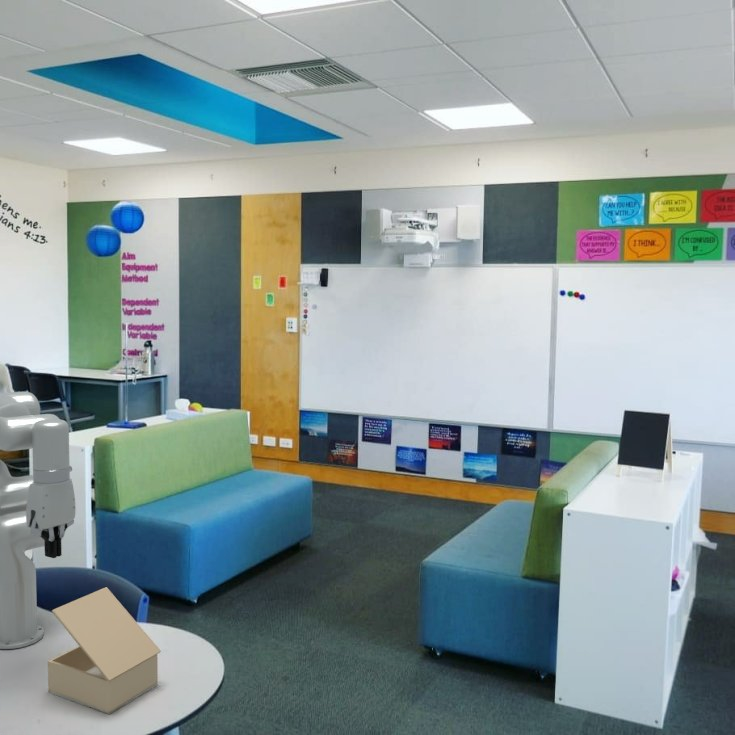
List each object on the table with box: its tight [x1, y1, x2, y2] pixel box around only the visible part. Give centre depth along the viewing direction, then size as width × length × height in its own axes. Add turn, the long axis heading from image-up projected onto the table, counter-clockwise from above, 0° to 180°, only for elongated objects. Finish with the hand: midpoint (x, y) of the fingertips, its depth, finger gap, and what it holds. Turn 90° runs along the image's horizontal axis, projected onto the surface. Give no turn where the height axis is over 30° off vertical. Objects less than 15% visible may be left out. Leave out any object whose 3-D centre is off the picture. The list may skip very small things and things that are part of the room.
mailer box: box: [47, 645, 159, 715], centre depth 170 cm, size 18×14×7 cm
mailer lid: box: [51, 586, 162, 682], centre depth 168 cm, size 20×15×1 cm
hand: (53, 555), depth 175 cm, fingers closed
